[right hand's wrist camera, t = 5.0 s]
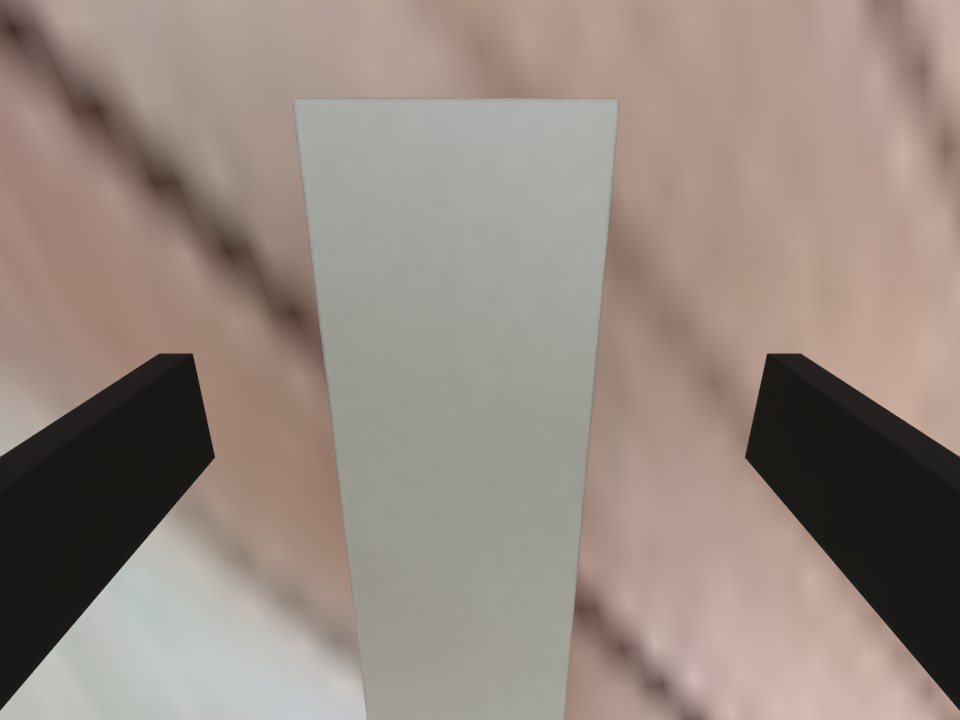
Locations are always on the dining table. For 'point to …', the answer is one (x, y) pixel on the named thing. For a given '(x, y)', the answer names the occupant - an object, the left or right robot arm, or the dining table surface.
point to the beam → (460, 383)
